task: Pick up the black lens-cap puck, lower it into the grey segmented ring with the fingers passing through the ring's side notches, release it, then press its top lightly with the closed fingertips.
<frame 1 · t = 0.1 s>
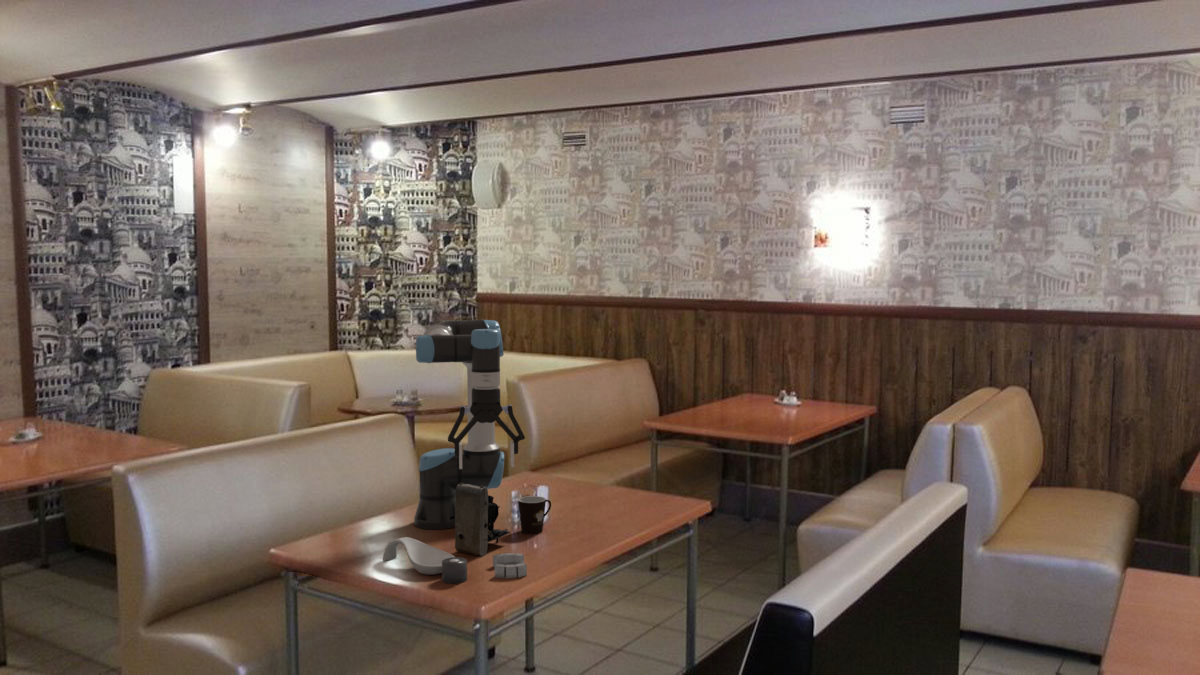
hand: (486, 467, 241), 28 cm above the table, fingers open, 13 cm apart
vintage camera: (483, 548, 263), on the table
coffee mug: (536, 531, 281), on the table
grey segmented ring: (509, 570, 242), on the table
spoon rest: (417, 568, 246), on the table
cap: (454, 579, 235), on the table
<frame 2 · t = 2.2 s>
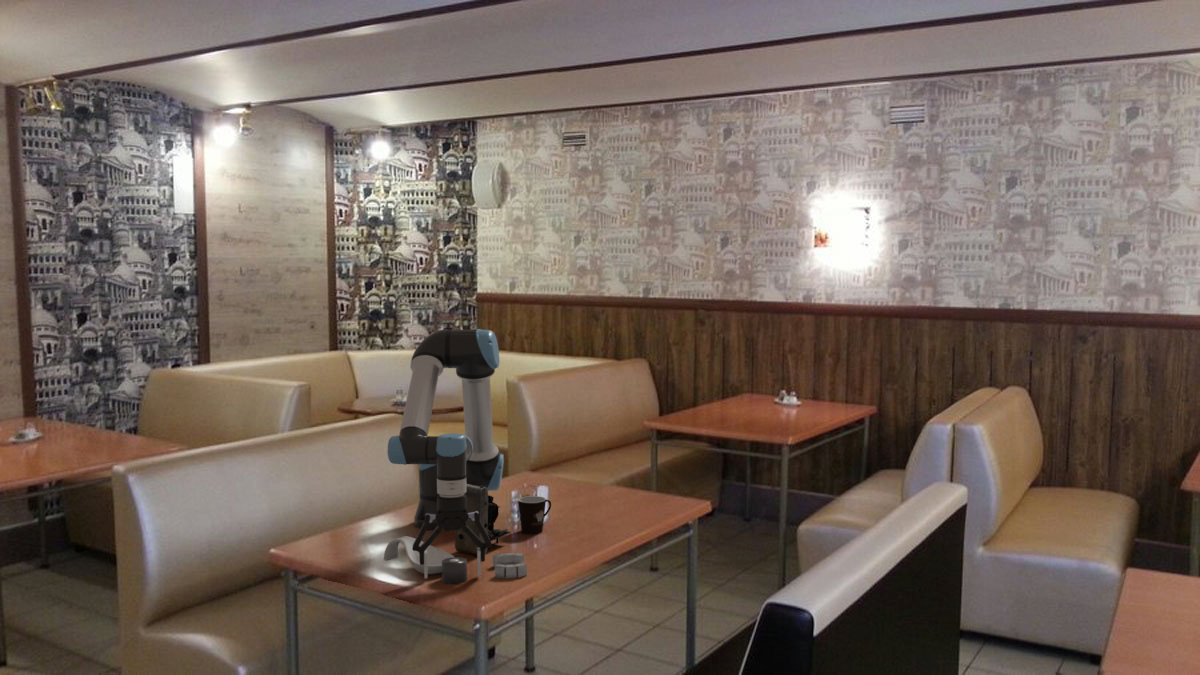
hand: (452, 575, 236), 1 cm above the table, fingers open, 13 cm apart
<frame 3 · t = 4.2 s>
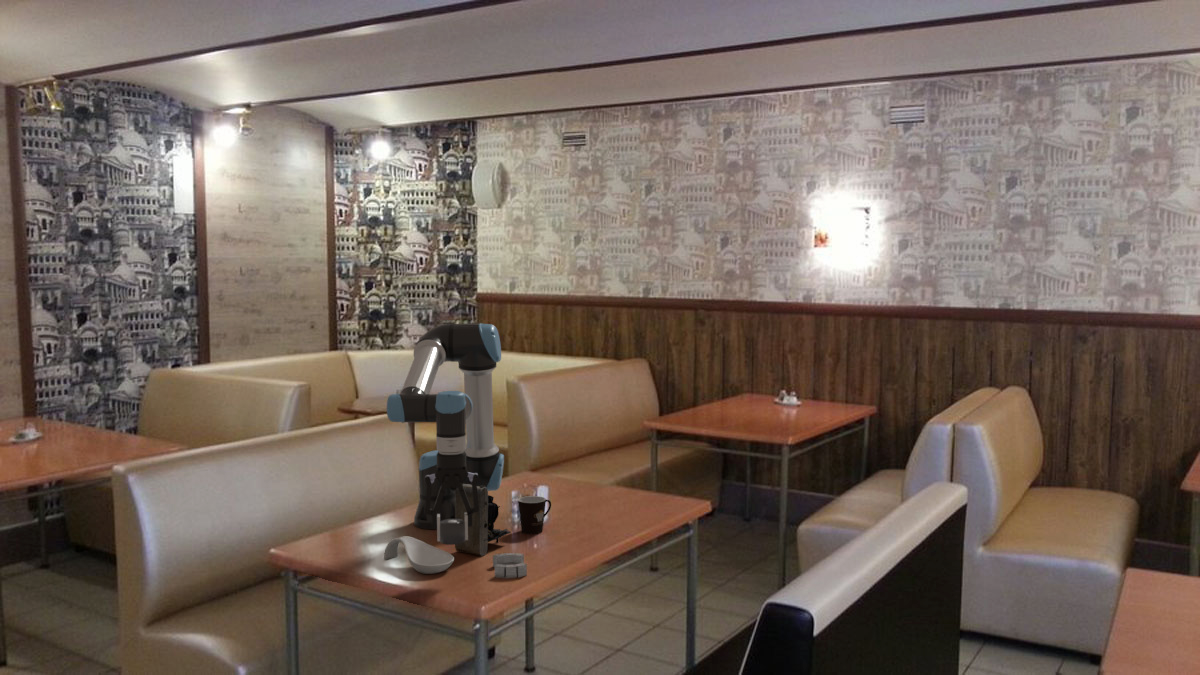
hand: (452, 539, 236), 10 cm above the table, fingers closed on cap, 6 cm apart
cap: (452, 541, 235), point 10 cm above the table, touching gripper
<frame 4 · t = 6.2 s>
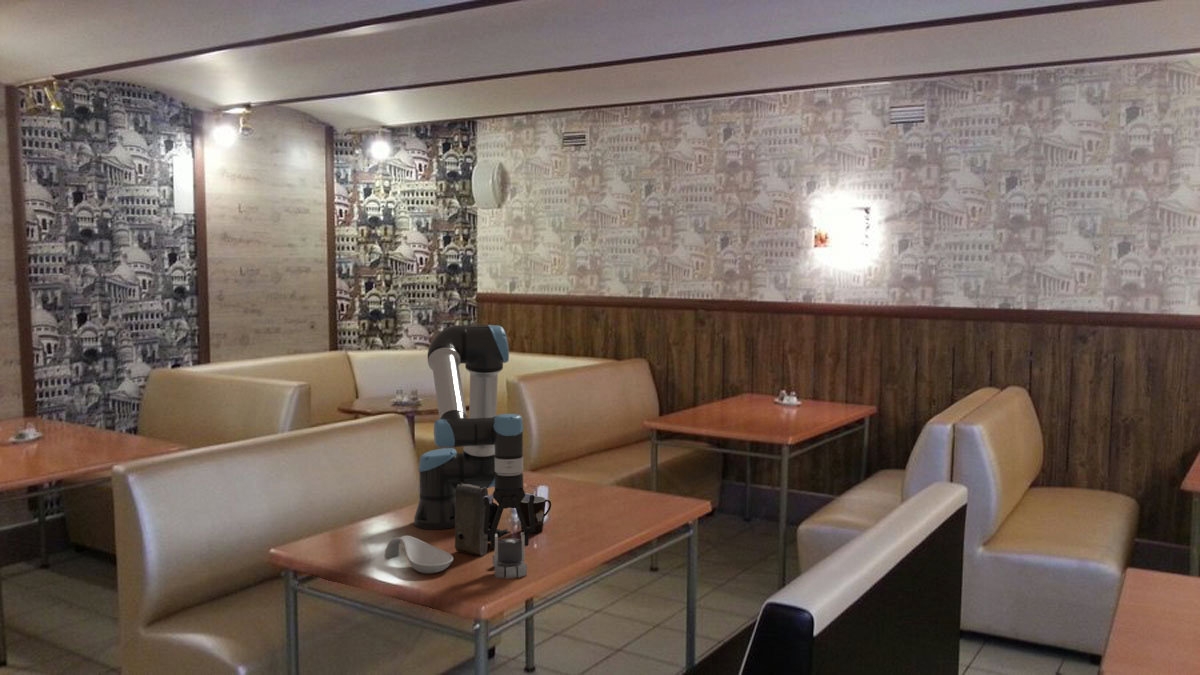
hand: (509, 558, 242), 3 cm above the table, fingers closed on cap, 6 cm apart
cap: (509, 560, 241), point 3 cm above the table, touching gripper
when the fingers open (0 cm above the table, at t = 8.5 s): cap stays where it is, on the table.
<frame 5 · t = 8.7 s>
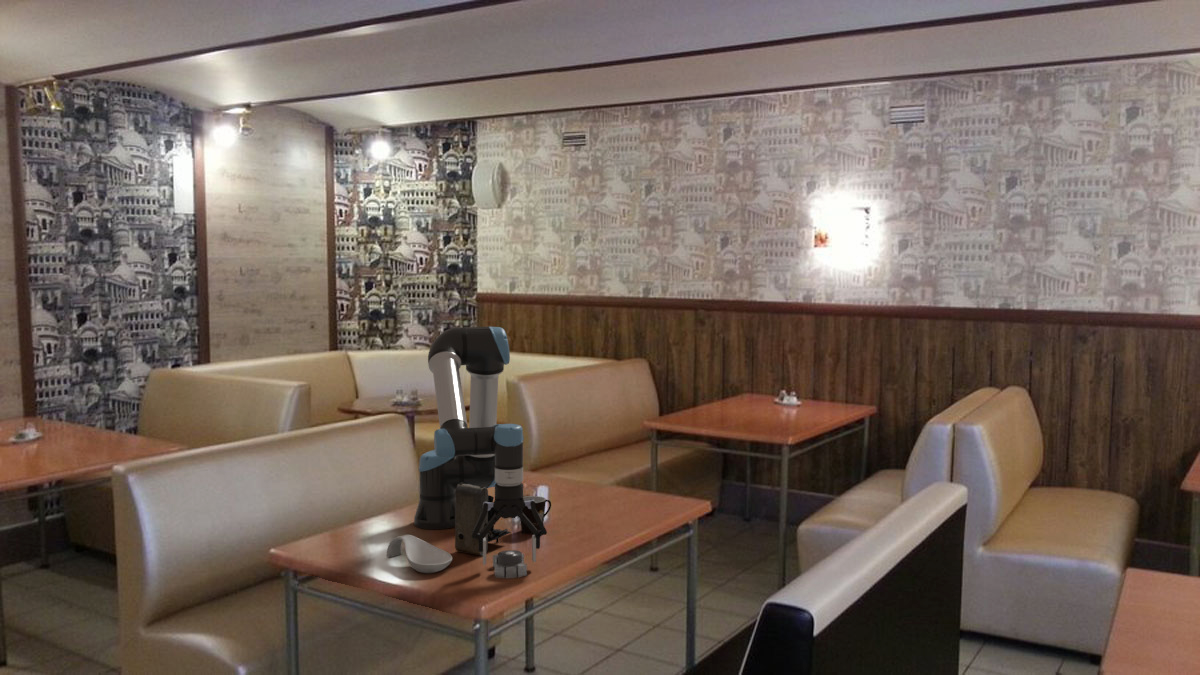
hand: (509, 561, 242), 2 cm above the table, fingers open, 12 cm apart
cap: (510, 572, 241), on the table
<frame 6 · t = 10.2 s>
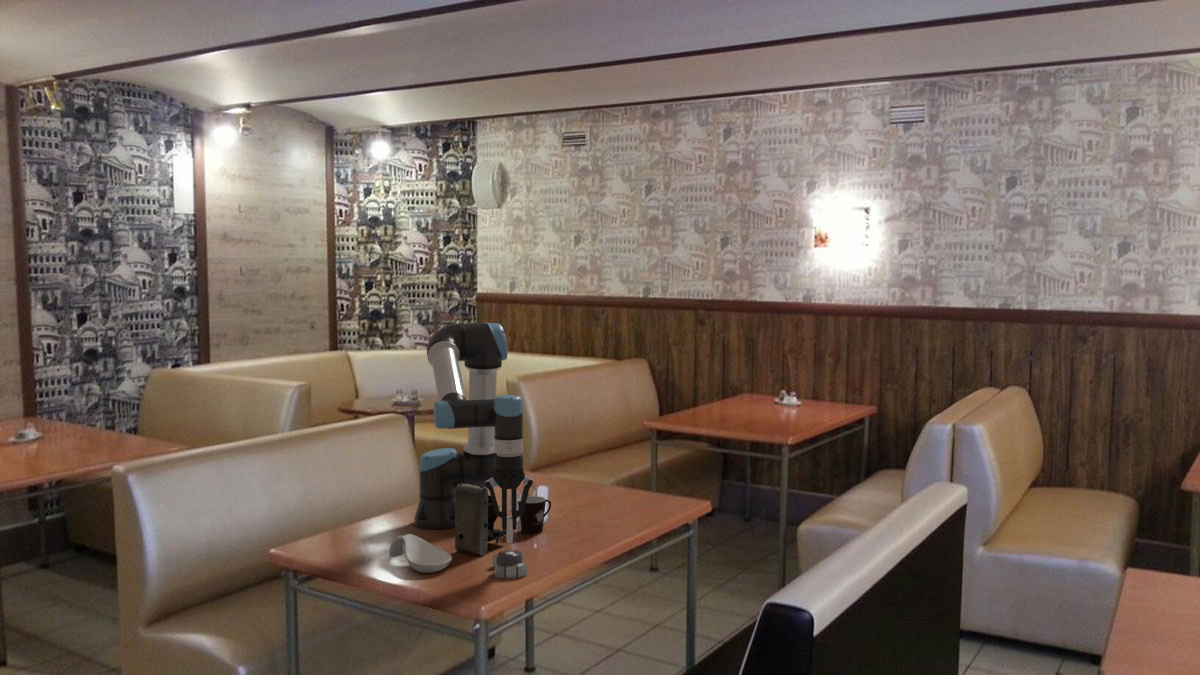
hand: (509, 541, 242), 8 cm above the table, fingers closed
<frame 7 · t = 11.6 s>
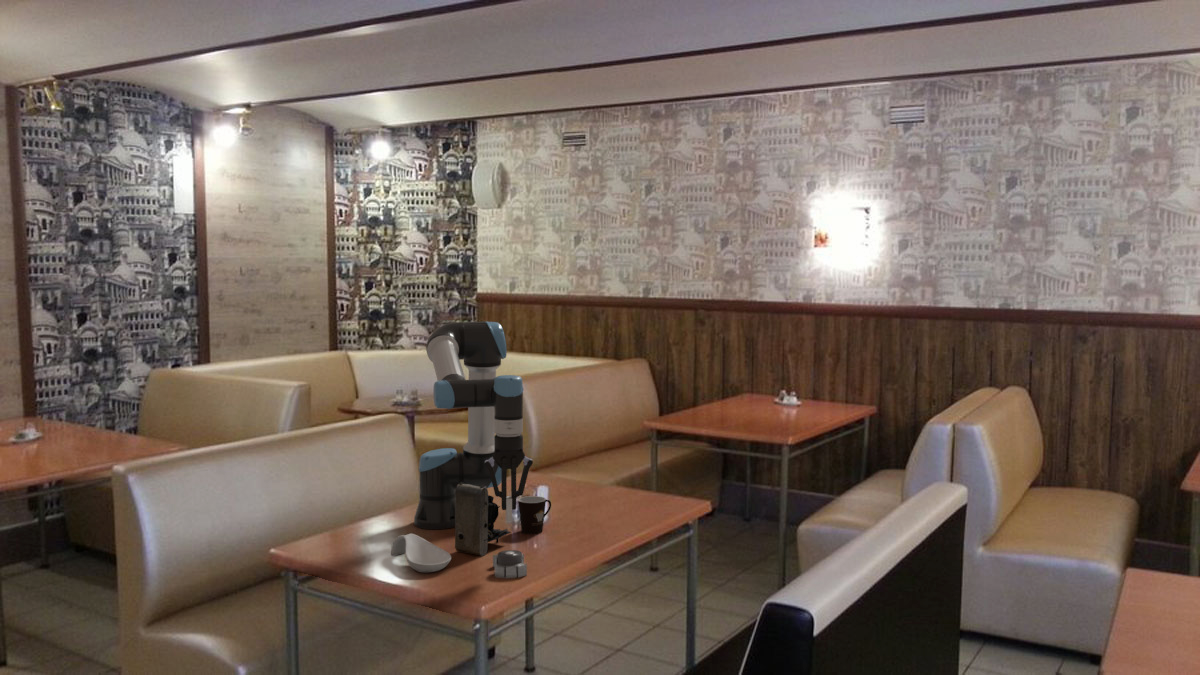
hand: (508, 521, 242), 13 cm above the table, fingers closed
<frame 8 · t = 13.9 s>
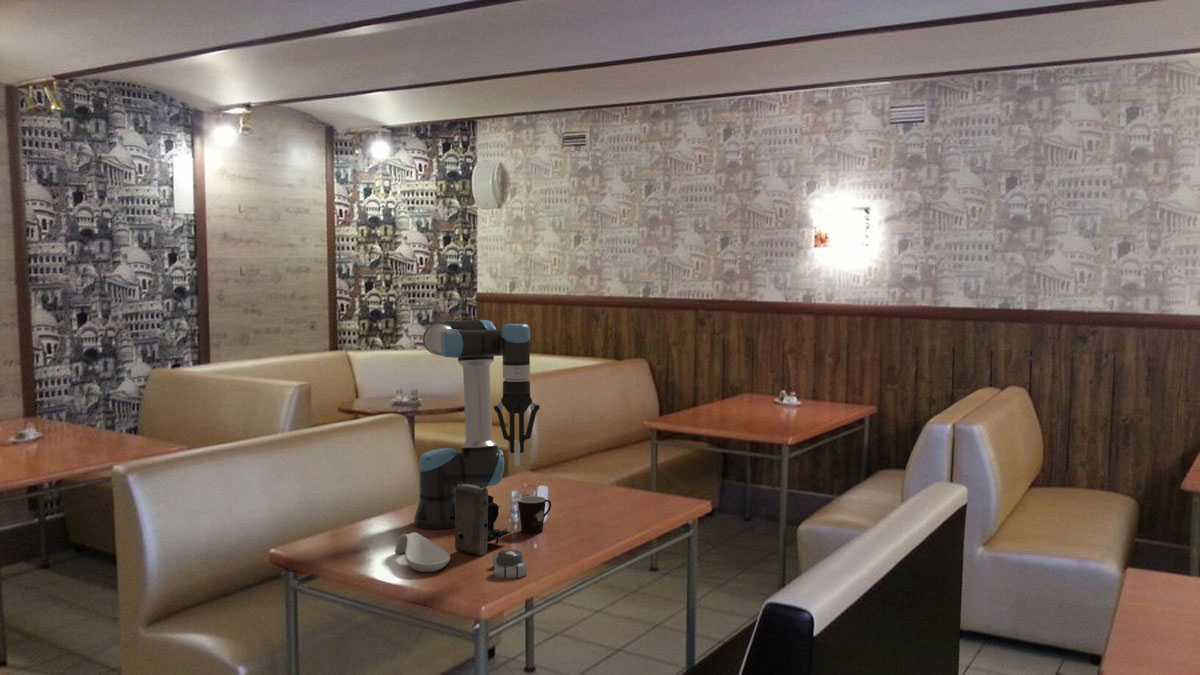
hand: (516, 464, 252), 26 cm above the table, fingers closed
at the end: cap 0.9 cm from the grey segmented ring (horizontally); cap on the table; cap tilted 1° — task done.
